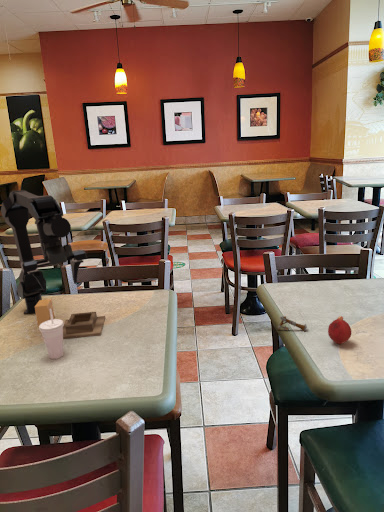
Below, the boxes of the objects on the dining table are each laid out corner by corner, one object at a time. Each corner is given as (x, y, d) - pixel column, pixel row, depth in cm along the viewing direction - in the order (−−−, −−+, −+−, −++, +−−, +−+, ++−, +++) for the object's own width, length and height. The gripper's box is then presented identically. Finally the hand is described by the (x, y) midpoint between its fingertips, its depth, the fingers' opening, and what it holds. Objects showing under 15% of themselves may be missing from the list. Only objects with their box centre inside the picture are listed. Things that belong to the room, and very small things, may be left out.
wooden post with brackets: (274, 326, 117) (280, 313, 115) (299, 336, 116) (306, 323, 115) (274, 329, 115) (281, 316, 113) (300, 339, 114) (307, 326, 113)
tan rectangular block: (42, 319, 136) (39, 300, 134) (54, 317, 136) (51, 299, 134) (38, 326, 130) (34, 306, 128) (50, 325, 131) (47, 305, 129)
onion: (339, 351, 102) (340, 323, 100) (323, 342, 107) (323, 315, 105) (355, 345, 104) (356, 317, 102) (338, 337, 109) (339, 310, 107)
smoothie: (61, 362, 106) (52, 314, 103) (39, 360, 108) (31, 313, 104) (72, 350, 112) (65, 304, 109) (52, 349, 114) (44, 304, 110)
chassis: (66, 322, 132) (64, 313, 131) (105, 318, 133) (104, 309, 132) (57, 339, 119) (55, 329, 119) (100, 335, 120) (99, 325, 120)
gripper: (19, 245, 107) (32, 299, 110) (86, 232, 116) (97, 283, 119) (15, 243, 117) (27, 293, 119) (77, 232, 126) (87, 279, 128)
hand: (60, 287), depth 121 cm, fingers open, 9 cm apart
